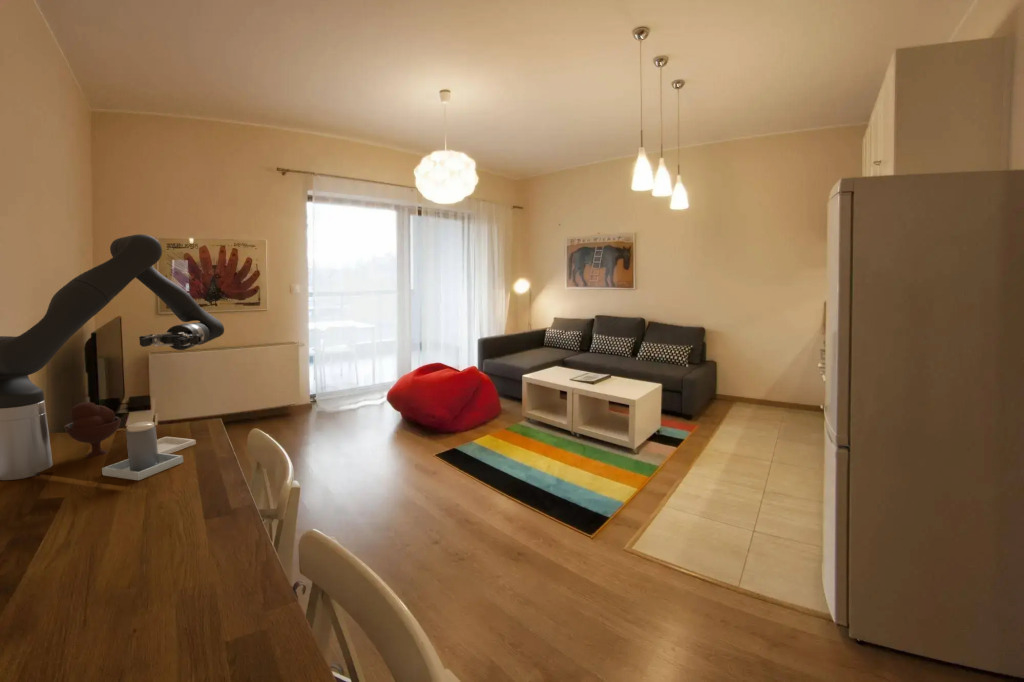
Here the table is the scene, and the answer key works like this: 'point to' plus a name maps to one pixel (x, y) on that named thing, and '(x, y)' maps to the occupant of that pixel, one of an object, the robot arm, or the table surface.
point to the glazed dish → (124, 471)
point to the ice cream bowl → (92, 425)
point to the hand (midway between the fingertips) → (161, 342)
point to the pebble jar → (142, 446)
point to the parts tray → (173, 444)
